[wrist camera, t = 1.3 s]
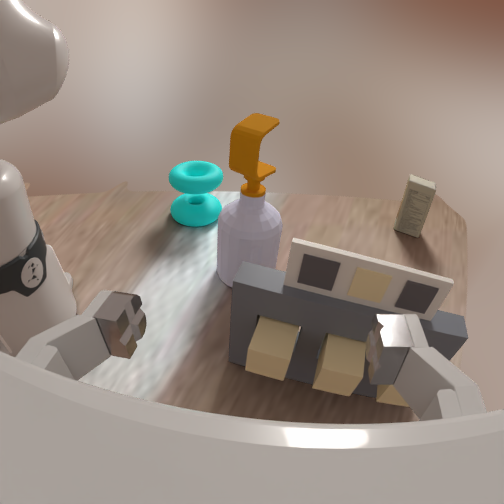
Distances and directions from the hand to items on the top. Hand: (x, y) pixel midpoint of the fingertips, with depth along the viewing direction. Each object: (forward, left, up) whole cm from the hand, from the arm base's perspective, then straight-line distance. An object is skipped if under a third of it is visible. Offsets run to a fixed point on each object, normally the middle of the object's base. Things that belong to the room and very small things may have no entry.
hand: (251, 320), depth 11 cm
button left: (0, +13, -20) cm, 24 cm away
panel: (+7, +15, -26) cm, 31 cm away
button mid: (+7, +13, -20) cm, 25 cm away
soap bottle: (-8, +30, -27) cm, 41 cm away
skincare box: (+21, +56, -27) cm, 66 cm away
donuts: (-22, +42, -27) cm, 55 cm away
